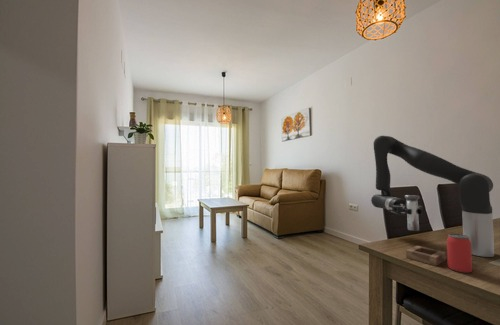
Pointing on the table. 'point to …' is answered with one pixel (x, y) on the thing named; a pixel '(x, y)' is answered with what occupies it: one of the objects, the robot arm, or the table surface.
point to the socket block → (426, 255)
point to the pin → (412, 212)
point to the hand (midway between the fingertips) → (416, 211)
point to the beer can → (459, 253)
